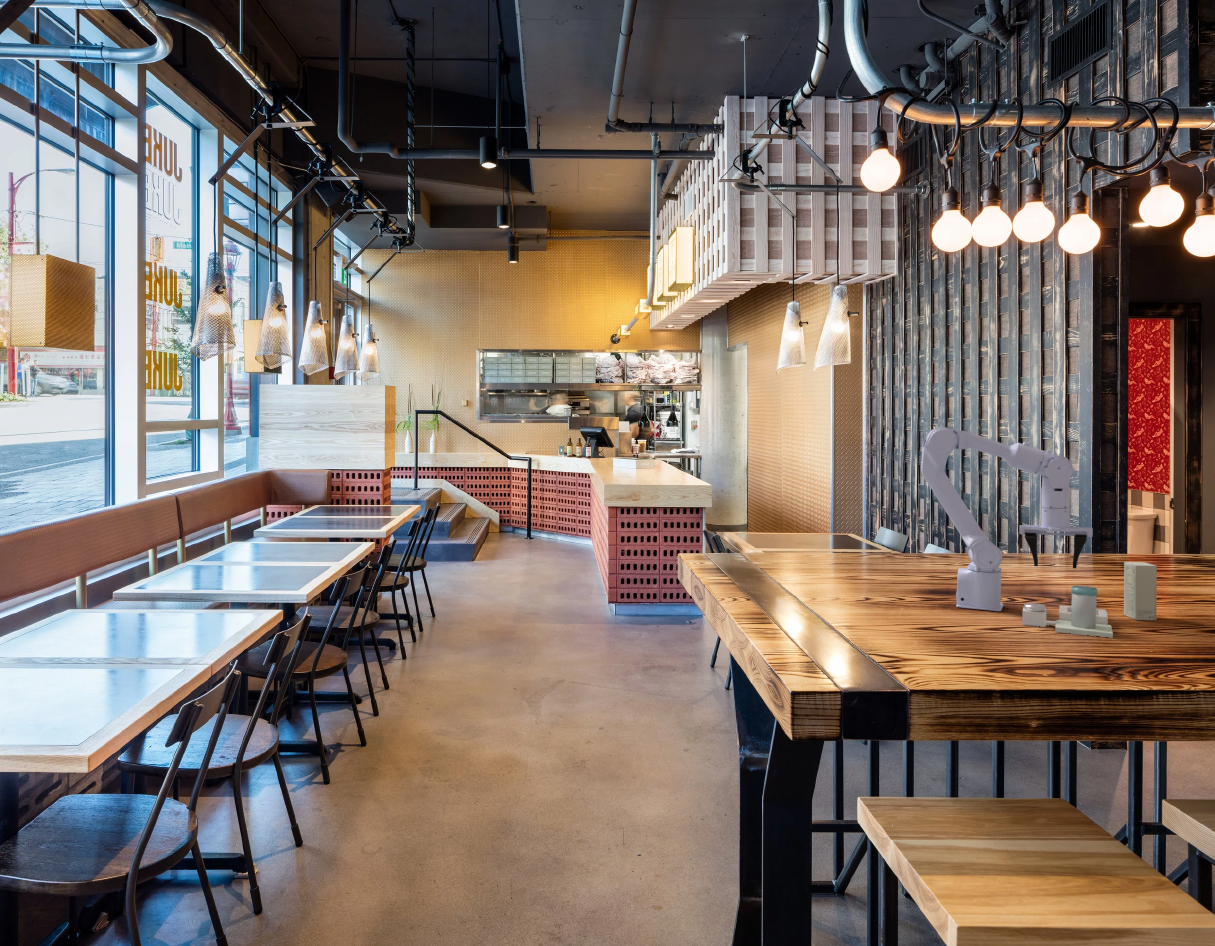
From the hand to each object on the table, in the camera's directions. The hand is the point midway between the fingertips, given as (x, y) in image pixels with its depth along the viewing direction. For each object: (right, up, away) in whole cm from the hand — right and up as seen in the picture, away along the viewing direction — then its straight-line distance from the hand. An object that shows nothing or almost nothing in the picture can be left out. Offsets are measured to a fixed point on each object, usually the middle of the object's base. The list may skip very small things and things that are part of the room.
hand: (1055, 566), depth 183 cm
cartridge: (-4, -10, -18) cm, 21 cm away
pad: (-4, -11, -18) cm, 22 cm away
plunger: (-11, -10, -12) cm, 19 cm away
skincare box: (+16, -11, -5) cm, 20 cm away
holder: (-4, -11, -11) cm, 16 cm away
